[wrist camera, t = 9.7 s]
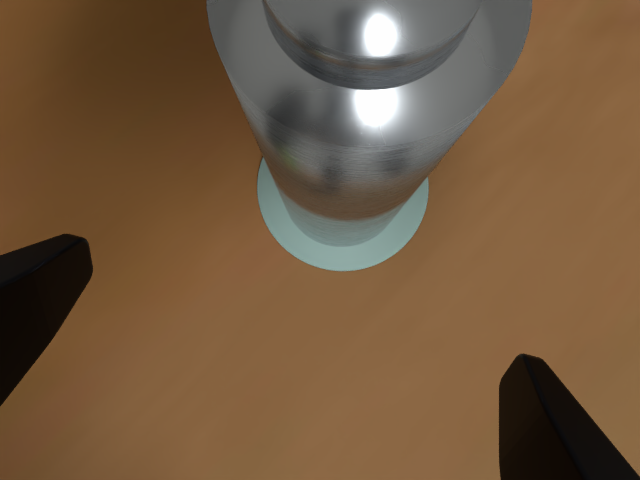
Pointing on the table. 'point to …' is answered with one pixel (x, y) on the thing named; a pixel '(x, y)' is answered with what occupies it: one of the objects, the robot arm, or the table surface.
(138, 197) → the table surface
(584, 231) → the table surface
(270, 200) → the pale green disc
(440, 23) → the canister
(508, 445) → the robot arm
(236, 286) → the table surface
